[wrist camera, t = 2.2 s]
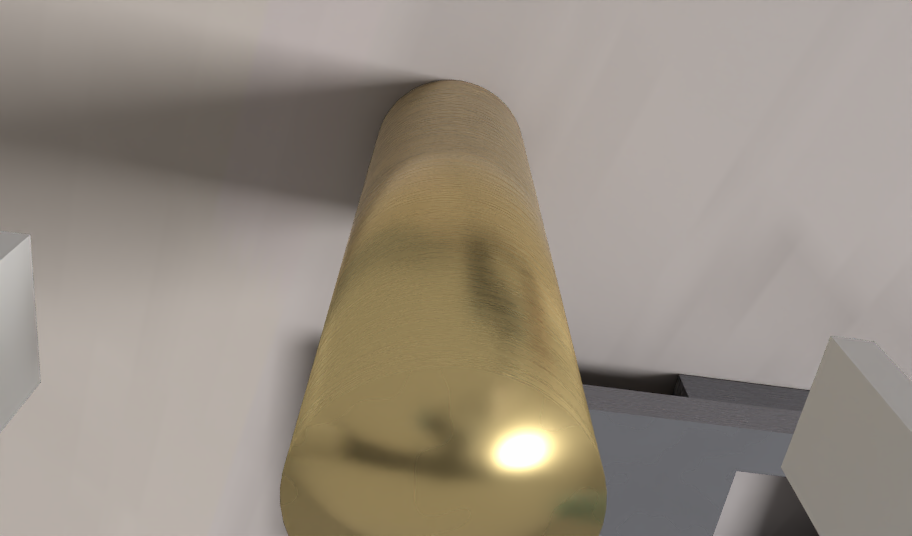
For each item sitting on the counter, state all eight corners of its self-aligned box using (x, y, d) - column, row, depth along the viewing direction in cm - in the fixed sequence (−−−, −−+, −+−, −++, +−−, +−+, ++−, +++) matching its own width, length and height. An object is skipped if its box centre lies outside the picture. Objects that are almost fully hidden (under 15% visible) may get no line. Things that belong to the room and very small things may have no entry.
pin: (384, 69, 22) (290, 348, 9) (535, 91, 22) (641, 391, 10) (369, 211, 24) (271, 606, 11) (509, 230, 24) (570, 637, 11)
